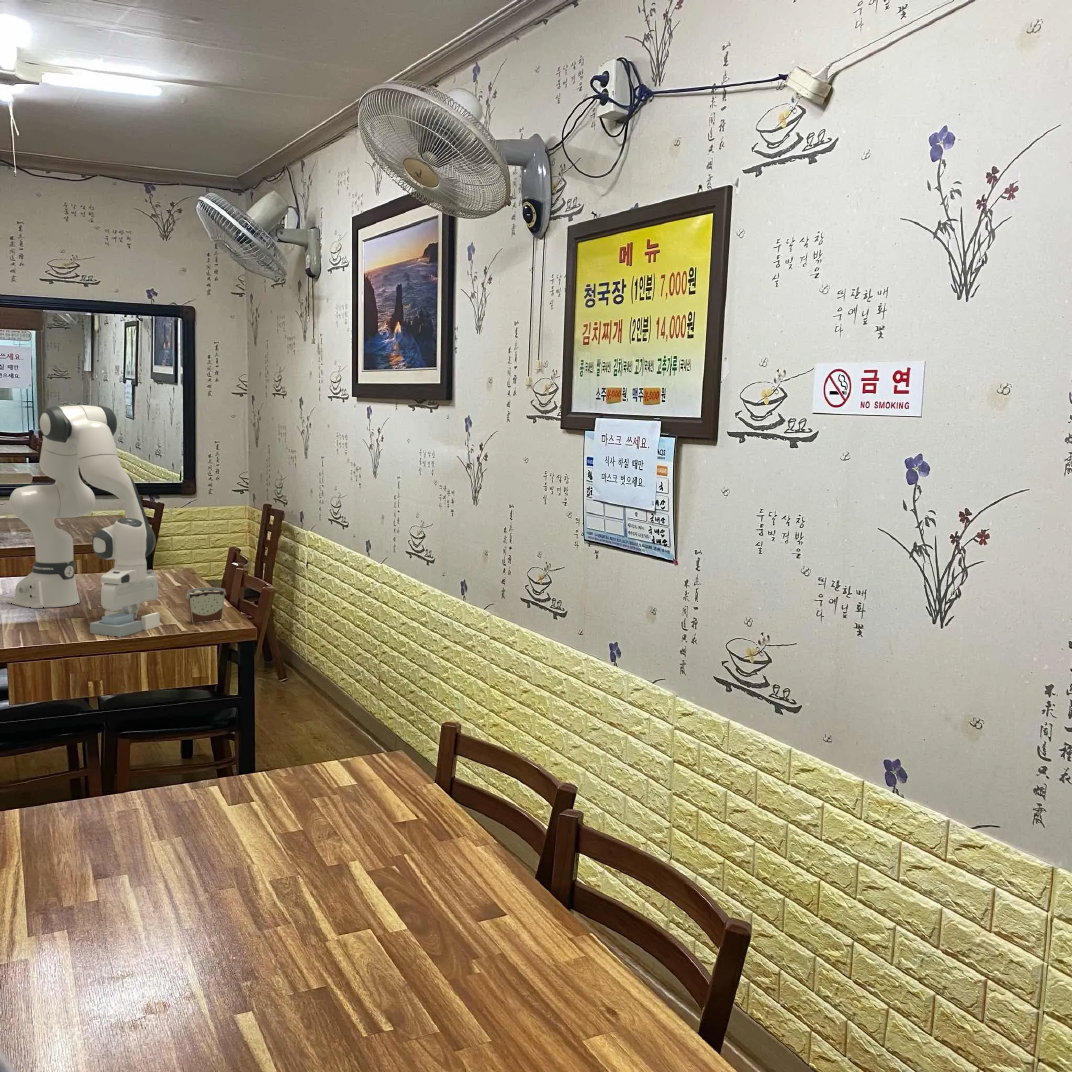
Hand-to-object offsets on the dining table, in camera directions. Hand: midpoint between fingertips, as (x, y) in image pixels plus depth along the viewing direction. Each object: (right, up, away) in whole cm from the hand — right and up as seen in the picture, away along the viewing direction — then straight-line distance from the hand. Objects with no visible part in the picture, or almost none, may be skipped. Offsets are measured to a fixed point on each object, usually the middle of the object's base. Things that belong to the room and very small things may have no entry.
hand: (131, 619), depth 289 cm
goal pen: (-2, -3, -5) cm, 6 cm away
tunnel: (-1, -2, +3) cm, 4 cm away
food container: (+17, -2, +13) cm, 22 cm away
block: (-2, -3, -5) cm, 6 cm away
